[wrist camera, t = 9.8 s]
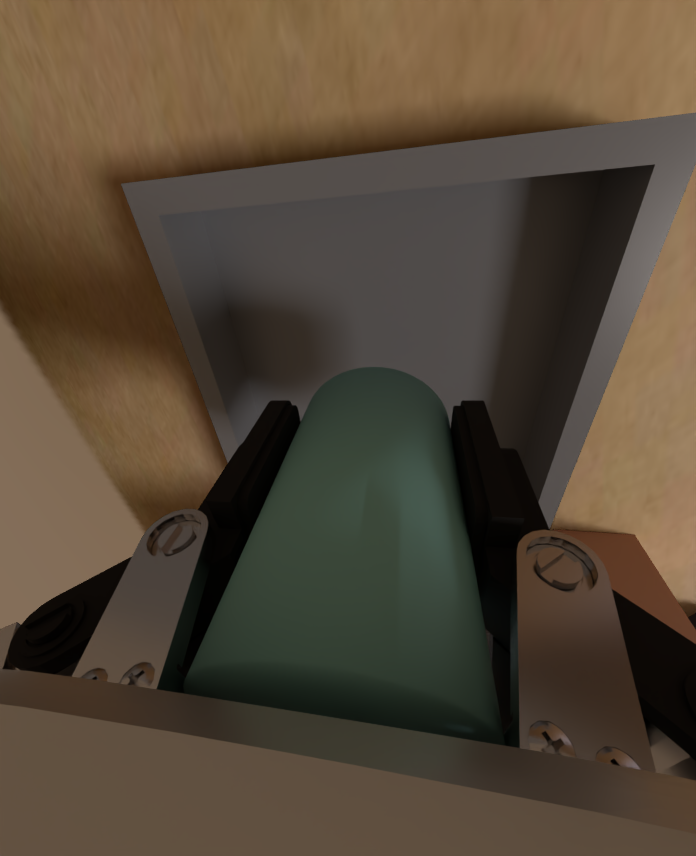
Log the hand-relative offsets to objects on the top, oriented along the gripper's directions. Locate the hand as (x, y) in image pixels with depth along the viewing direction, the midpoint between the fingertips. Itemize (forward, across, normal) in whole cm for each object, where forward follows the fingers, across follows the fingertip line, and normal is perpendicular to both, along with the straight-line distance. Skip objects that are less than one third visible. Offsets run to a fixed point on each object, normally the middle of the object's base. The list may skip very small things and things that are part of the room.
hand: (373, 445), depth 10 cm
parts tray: (+6, 0, 0) cm, 6 cm away
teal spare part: (+1, 0, 0) cm, 1 cm away
